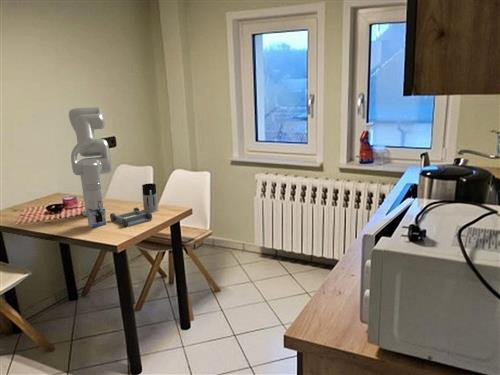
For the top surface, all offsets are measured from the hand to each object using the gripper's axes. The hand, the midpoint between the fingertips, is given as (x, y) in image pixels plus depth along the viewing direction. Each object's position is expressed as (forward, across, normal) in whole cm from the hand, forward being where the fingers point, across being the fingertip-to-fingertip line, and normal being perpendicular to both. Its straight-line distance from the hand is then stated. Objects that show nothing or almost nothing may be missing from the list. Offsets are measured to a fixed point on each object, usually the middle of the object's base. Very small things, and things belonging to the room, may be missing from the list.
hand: (97, 220), depth 216 cm
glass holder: (+3, +1, +32) cm, 32 cm away
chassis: (+2, +6, +16) cm, 17 cm away
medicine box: (+3, 0, 0) cm, 3 cm away
